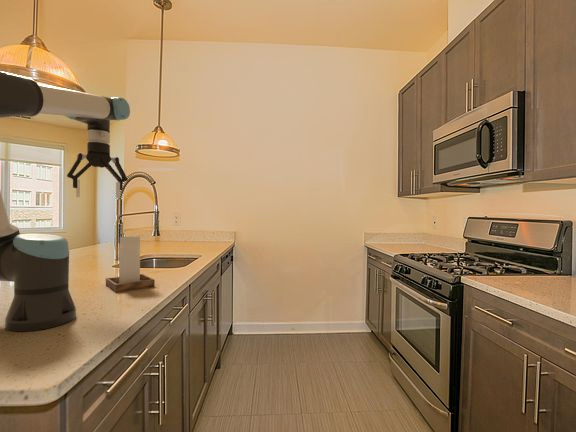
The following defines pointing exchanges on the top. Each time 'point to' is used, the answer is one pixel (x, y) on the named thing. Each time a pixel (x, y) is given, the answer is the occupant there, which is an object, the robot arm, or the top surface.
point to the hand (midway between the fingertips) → (98, 197)
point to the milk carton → (129, 259)
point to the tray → (130, 284)
